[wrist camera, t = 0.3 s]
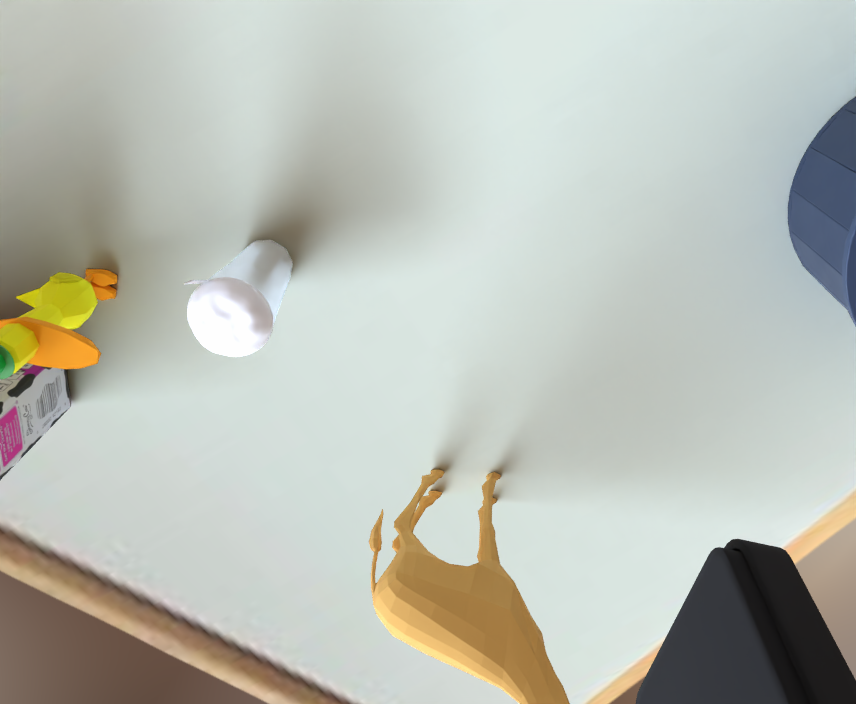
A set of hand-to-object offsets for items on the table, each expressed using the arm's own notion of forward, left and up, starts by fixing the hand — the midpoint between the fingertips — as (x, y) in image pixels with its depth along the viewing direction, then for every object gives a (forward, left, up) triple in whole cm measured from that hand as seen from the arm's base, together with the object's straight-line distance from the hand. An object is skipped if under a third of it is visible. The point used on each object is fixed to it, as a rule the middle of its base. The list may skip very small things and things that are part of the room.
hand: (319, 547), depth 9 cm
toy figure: (+16, -19, -37) cm, 44 cm away
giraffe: (+26, +9, -37) cm, 46 cm away
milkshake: (+12, -9, -37) cm, 39 cm away
